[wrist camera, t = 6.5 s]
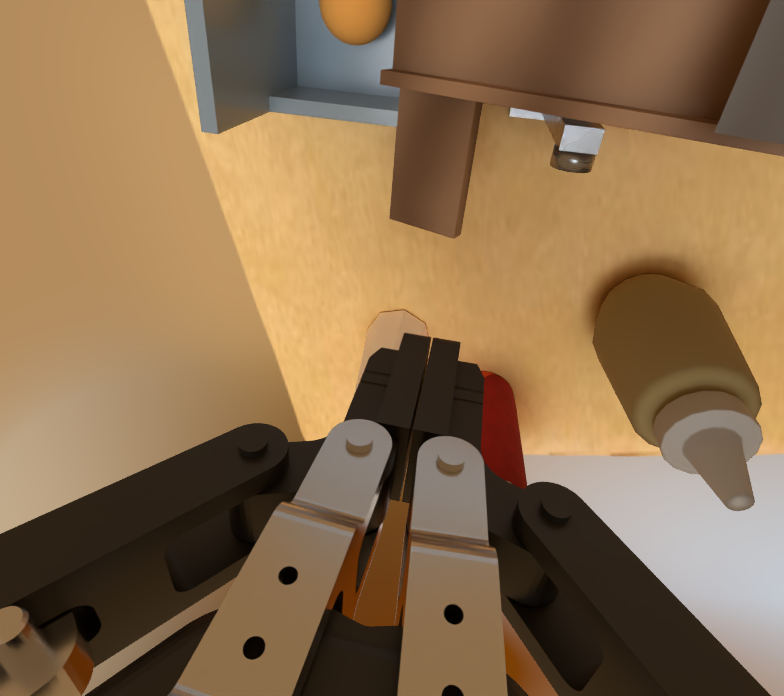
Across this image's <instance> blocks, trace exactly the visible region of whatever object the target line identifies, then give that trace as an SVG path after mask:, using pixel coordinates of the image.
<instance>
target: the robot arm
mask: <svg viewBox="0 0 784 696" xmlns="http://www.w3.org/2000/svg"><path fill="white" fill-rule="evenodd" d="M430 343H431V337H427V336H422V335H416V334H410V333H404V334H403V338H402V341H401V344H400V347H399V350H394V349H388V348H382V347H381V348H380V349H379V350H378V351H376V352H375V353H374V354H373V355H371V356H370V357H369V359H368V362H367V364H366V367H365V369H364V372H363V374H362V377H361V379H360V383H359V385H358V387H357V390H356V392H355V395H354V397H353V400H352V402H351V405H350V407H349V410H348V412H347V415H346V417H345V420H344V422H342V423H340V424H338V425H336V426H335V427H334V428H333V429H332V430H331V431H330V433H329V434H328V436H327V437H325V438H322V439H318V440H314V441H302V442H288V440H287V438H286V436H285V434H284V433H283V432H282V431H281V430H280V429H278V428H276V427H274V426H271V425H268V424H261V423H254V424H247V425H243V426H241V427H238V428H236V429H233V430H231V431H229V432H227V433H224V434H222V435H220V436H218V437H216V438H213V439H212V440H209V441H207V442H205V443H202V444H200V445H198V446H196V447H193V448H191V449H189V450H187V451H184V452H182V453H180V454H178V455H176V456H173V457H171V458H169V459H167V460H164V461H162V462H160V463H158V464H155V465H153V466H151V467H149V468H147V469H144V470H142V471H140V472H138V473H135V474H133V475H131V476H129V477H126V478H125V479H122V480H120V481H118V482H115V483H113V484H111V485H109V486H107V487H104V488H102V489H100V490H98V491H95V492H93V493H91V494H88V495H86V496H84V497H82V498H80V499H77V500H75V501H73V502H71V503H68V504H66V505H64V506H62V507H59V508H57V509H55V510H53V511H51V512H48V513H46V514H44V515H42V516H39V517H37V518H35V519H33V520H31V521H28V522H26V523H24V524H22V525H19V526H17V527H15V528H13V529H11V530H8V531H6V532H4V533H1V534H0V696H82V694H83V693H84V691H85V689H86V688H87V686H88V684H89V682H90V679H91V676H92V673H93V668H94V667H96V666H97V665H99V664H100V663H102V662H104V661H105V660H107V659H108V658H110V657H111V656H113V655H115V654H116V653H118V652H119V651H121V650H122V649H124V648H125V647H127V646H129V645H130V644H132V643H133V642H135V641H137V640H138V639H140V638H141V637H143V636H144V635H146V634H148V633H149V632H151V631H152V630H154V629H155V628H157V627H159V626H160V625H162V624H163V623H165V622H166V621H168V620H169V619H171V618H173V617H174V616H176V615H177V614H179V613H181V612H182V611H184V610H185V609H187V608H188V607H190V606H192V605H193V604H194V603H196V602H198V601H199V600H201V599H203V598H204V597H206V596H207V595H209V594H210V593H212V592H214V591H215V590H217V589H218V588H220V587H221V586H223V585H225V584H226V583H228V582H229V581H231V580H232V579H234V578H236V577H237V578H236V579H235V581H234V583H233V585H232V587H231V588H230V590H229V592H228V594H227V596H226V597H225V599H224V601H223V603H222V604H221V606H220V608H219V609H217V610H215V611H212V612H210V613H208V614H205V615H203V616H201V617H199V618H198V619H196V620H194V621H192V622H190V623H189V624H187V625H186V626H184V627H183V628H181V629H180V630H178V631H177V632H175V633H174V634H173V635H171V636H170V637H168V638H167V639H165V640H164V641H162V642H161V643H160V644H158V645H157V646H155V647H154V648H152V649H151V650H150V651H148V652H147V653H145V654H144V655H142V656H141V657H139V658H138V659H137V660H135V661H134V662H132V663H131V664H129V665H128V666H127V667H125V668H124V669H122V670H121V671H119V672H118V673H116V674H115V675H114V676H112V677H111V678H109V679H108V680H107V681H105V682H104V683H102V684H101V685H99V686H98V687H96V688H95V689H93V690H92V691H91V692H89V693H88V694H86V695H85V696H528V694H527V693H526V692H525V691H524V690H523V689H522V688H521V687H520V686H519V685H518V684H517V682H515V681H514V680H513V679H512V678H511V677H510V676H509V675H508V674H507V673H506V667H505V652H504V638H503V624H502V612H503V613H504V615H505V616H506V618H507V619H508V621H509V622H510V624H511V625H512V627H513V628H514V630H515V631H516V633H517V634H518V636H519V637H520V639H521V640H522V642H523V643H524V645H525V646H526V648H527V649H528V651H529V652H530V654H531V655H532V657H533V658H534V660H535V661H536V663H537V664H538V666H539V667H540V669H541V670H542V672H543V673H544V675H545V676H546V678H547V679H548V681H549V682H550V684H551V685H552V687H553V688H554V690H555V691H556V693H557V694H558V695H559V696H771V695H770V694H769V693H768V692H767V691H766V690H765V689H764V688H763V687H762V686H761V685H760V684H759V683H758V682H757V681H756V680H755V679H754V678H753V677H752V676H751V674H750V673H749V672H747V670H746V669H745V668H744V667H743V666H742V665H741V664H740V663H739V662H738V661H737V660H736V659H735V658H734V657H733V656H732V655H731V654H730V653H729V652H728V651H727V650H726V648H724V646H722V644H721V643H720V642H719V641H718V640H717V639H716V638H715V637H714V636H713V635H712V634H711V633H710V632H709V631H708V630H707V629H706V628H705V627H704V626H703V625H702V624H701V623H700V621H699V620H698V619H697V618H695V616H694V615H693V614H692V613H691V612H690V611H689V610H688V609H687V608H686V607H685V606H684V605H683V604H682V603H681V602H680V601H679V600H678V599H677V598H676V597H675V596H674V595H673V593H672V592H670V590H669V589H668V588H667V587H666V586H665V585H664V584H663V583H662V582H661V581H660V580H659V579H658V578H657V577H656V576H655V575H654V574H653V573H652V572H651V571H650V570H649V569H648V568H647V567H646V566H645V564H644V563H643V562H642V561H641V560H640V559H639V558H638V557H637V556H636V555H635V554H634V553H633V552H632V551H631V550H630V549H629V548H628V547H627V546H626V545H625V544H624V543H623V542H622V541H621V540H620V538H619V537H618V536H617V535H616V534H615V533H614V532H613V531H612V530H611V529H610V528H609V527H608V526H607V525H606V524H605V523H604V522H603V521H602V520H601V519H600V518H599V517H598V516H597V515H596V514H595V513H594V512H593V511H592V509H591V508H590V507H589V506H588V505H587V504H586V503H585V502H584V501H583V500H582V499H581V498H580V497H579V496H578V495H576V494H575V493H574V492H572V491H571V490H569V489H568V488H566V487H563V486H561V485H558V484H555V483H550V482H536V483H533V484H530V485H528V486H527V487H525V488H524V489H522V488H520V487H518V486H516V485H514V484H512V483H509V482H507V481H506V480H504V479H502V478H500V477H499V476H498V475H496V474H495V473H494V472H493V471H492V470H491V469H490V468H489V467H488V466H487V464H486V463H485V461H484V459H483V457H482V453H481V436H482V417H483V398H484V379H485V378H484V376H483V374H482V372H481V371H480V369H479V367H478V365H477V364H472V363H467V362H461V361H458V357H459V349H460V342H457V341H451V340H445V339H439V338H433V341H432V346H431V351H430V355H429V349H430ZM428 355H429V360H428ZM427 362H428V364H427ZM426 368H427V369H426ZM408 459H409V460H408ZM407 463H408V467H407ZM406 468H407V473H406V480H405V487H404V493H403V500H402V502H406V503H409V509H408V516H407V522H406V528H405V534H404V542H403V552H402V562H401V572H400V581H399V591H398V600H397V609H396V618H395V625H394V626H375V627H370V626H364V625H361V624H359V623H357V622H356V621H354V620H353V618H354V614H355V610H356V606H357V603H358V599H359V596H360V593H361V590H362V587H363V584H364V581H365V578H366V575H367V572H368V569H369V566H370V563H371V560H372V557H373V554H374V551H375V548H376V545H377V542H378V539H379V536H380V533H381V529H382V525H383V521H384V520H385V517H386V514H387V510H388V506H389V502H390V499H392V500H396V501H399V500H400V496H401V491H402V486H403V482H404V477H405V472H406Z"/></svg>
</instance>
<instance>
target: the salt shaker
mask: <svg viewBox="0 0 784 696" xmlns="http://www.w3.org/2000/svg"><path fill="white" fill-rule="evenodd" d="M404 333H410V334H416V335H422V336H427V337H428V334H427V330H426V325H425V323H423V322H422V321H420V320H419V319H417V318H416V317H414V316H413V315H411V314H410V313H408V312H407V311H405V310H401V311H392V312H383V313H380V314H379V315H378V317H377V318H376V319H375V321H374V322H373V323H372V324H371V326H370V327H369V328H368V331H367V336H366V341H365V346H364V350H363V355H362V360H361V365H360V370H359V375H358V380H357V384H356V390H357V387H358V385H359V383H360V379H361V377H362V374H363V372H364V369H365V367H366V364H367V362H368V359H369V357H370V356H371V355H373V354H374V353H375V352H376V351H378V350H379V349H380V348H381V347H382V348H388V349H394V350H399V347H400V344H401V341H402V338H403V334H404Z"/></svg>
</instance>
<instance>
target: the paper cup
mask: <svg viewBox="0 0 784 696" xmlns="http://www.w3.org/2000/svg"><path fill="white" fill-rule="evenodd" d="M481 372H482V374H483V376H484V378H485V379H484V398H483V417H482V436H481V453H482V457H483V459H484V461H485V463H486V464H487V466H488V467H489V468H490V469H491V470H492V471H493V472H494V473H495V474H496V475H498V476H499V477H500V478H502V479H504V480H506V481H507V482H509V483H512V484H514V485H516V486H518V487H520V488H522V489H524V488H525V487H527V481H526V474H525V467H524V459H523V452H522V445H521V438H520V431H519V424H518V418H517V411H516V405H515V399H514V395H513V391H512V388H511V386H510V385H509V383H508V382H507V381H506V380H505V379H503V378H502V377H500V376H499V375H497V374H494V373H491V372H485V371H481Z"/></svg>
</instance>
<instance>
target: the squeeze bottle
mask: <svg viewBox="0 0 784 696" xmlns="http://www.w3.org/2000/svg"><path fill="white" fill-rule="evenodd" d="M593 345H594V348H595V351H596V353H597V356H598V359H599V361H600V363H601V365H602V367H603V369H604V371H605V373H606V375H607V377H608V379H609V381H610V383H611V385H612V387H613V389H614V391H615V393H616V395H617V397H618V399H619V401H620V403H621V405H622V406H623V408H624V410H625V412H626V414H627V416H628V418H629V420H630V422H631V424H632V426H633V428H634V430H635V432H636V433H637V434H638V435H639V436H641V437H642V438H643V439H644V440H645V441H646V442H647V443H648V444H651V445H654V446H656V447H659V448H660V451H661V453H662V456H663V458H664V459H665V460H666V461H667V462H668V463H669V464H670V465H672V466H673V467H674V468H676V469H679V470H682V471H684V472H687V473H690V474H700V475H701V476H702V478H703V479H704V480H705V481H706V483H707V484H708V485H709V486H710V487H711V489H712V490H713V491H714V492H715V494H716V495H717V496H718V497H719V498H720V500H721V501H722V502H723V503H724V505H725V506H726V507H727V508H728V509H731V510H734V511H741V510H746V509H748V508H750V507H751V506H753V505H754V502H755V501H754V496H753V491H752V487H751V482H750V478H749V473H748V470H747V464H746V462H747V461H748V460H749V459H750V458H752V457H753V456H754V455H755V454H756V453H757V452H758V449H759V447H760V445H761V443H762V440H763V437H762V431H761V426H760V425H759V423H758V422H757V420H756V417H757V414H758V412H759V410H760V407H761V405H762V403H761V397H760V392H759V387H758V384H757V382H756V380H755V378H754V376H753V374H752V372H751V370H750V368H749V366H748V364H747V362H746V360H745V358H744V356H743V354H742V352H741V350H740V348H739V346H738V344H737V342H736V340H735V338H734V336H733V334H732V332H731V330H730V328H729V326H728V324H727V322H726V320H725V318H724V316H723V314H722V312H721V310H720V308H719V306H718V305H717V304H716V303H715V302H714V300H713V299H712V298H711V297H710V296H709V295H708V294H707V293H706V292H705V291H704V290H703V289H700V288H697V287H694V286H692V285H689V284H686V283H684V282H681V281H678V280H675V279H672V278H670V277H667V276H664V275H661V274H640V275H637V276H634V277H631V278H628V279H625V280H624V281H622V282H621V283H620V284H618V285H617V286H616V287H614V288H613V289H611V291H610V292H609V294H608V295H607V297H606V298H605V300H604V301H603V303H602V306H601V309H600V312H599V315H598V317H597V320H596V323H595V329H594V336H593Z"/></svg>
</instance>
